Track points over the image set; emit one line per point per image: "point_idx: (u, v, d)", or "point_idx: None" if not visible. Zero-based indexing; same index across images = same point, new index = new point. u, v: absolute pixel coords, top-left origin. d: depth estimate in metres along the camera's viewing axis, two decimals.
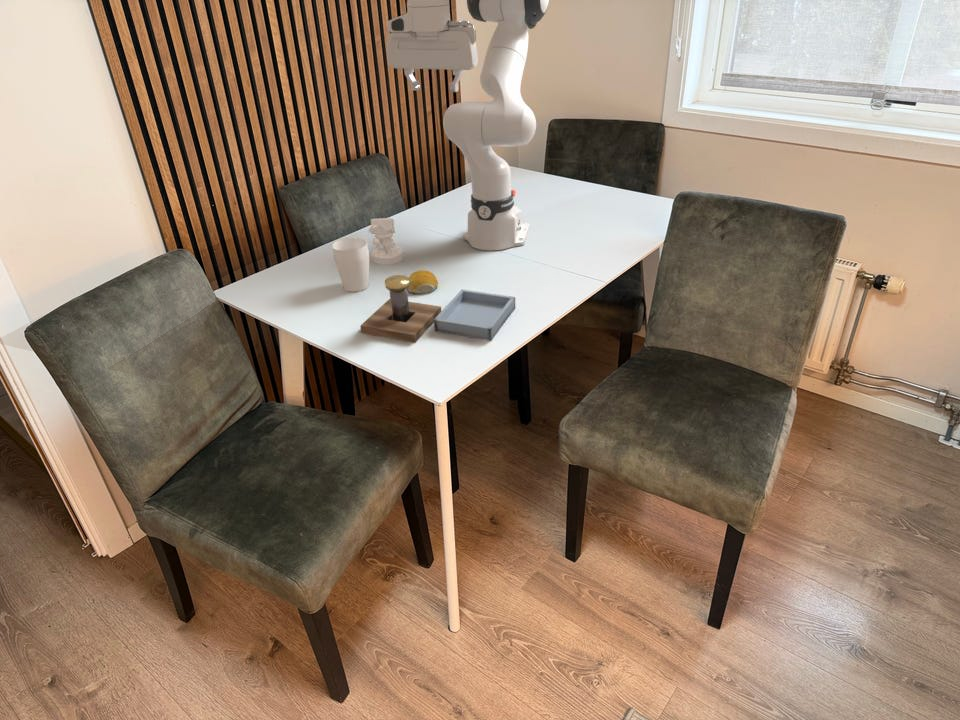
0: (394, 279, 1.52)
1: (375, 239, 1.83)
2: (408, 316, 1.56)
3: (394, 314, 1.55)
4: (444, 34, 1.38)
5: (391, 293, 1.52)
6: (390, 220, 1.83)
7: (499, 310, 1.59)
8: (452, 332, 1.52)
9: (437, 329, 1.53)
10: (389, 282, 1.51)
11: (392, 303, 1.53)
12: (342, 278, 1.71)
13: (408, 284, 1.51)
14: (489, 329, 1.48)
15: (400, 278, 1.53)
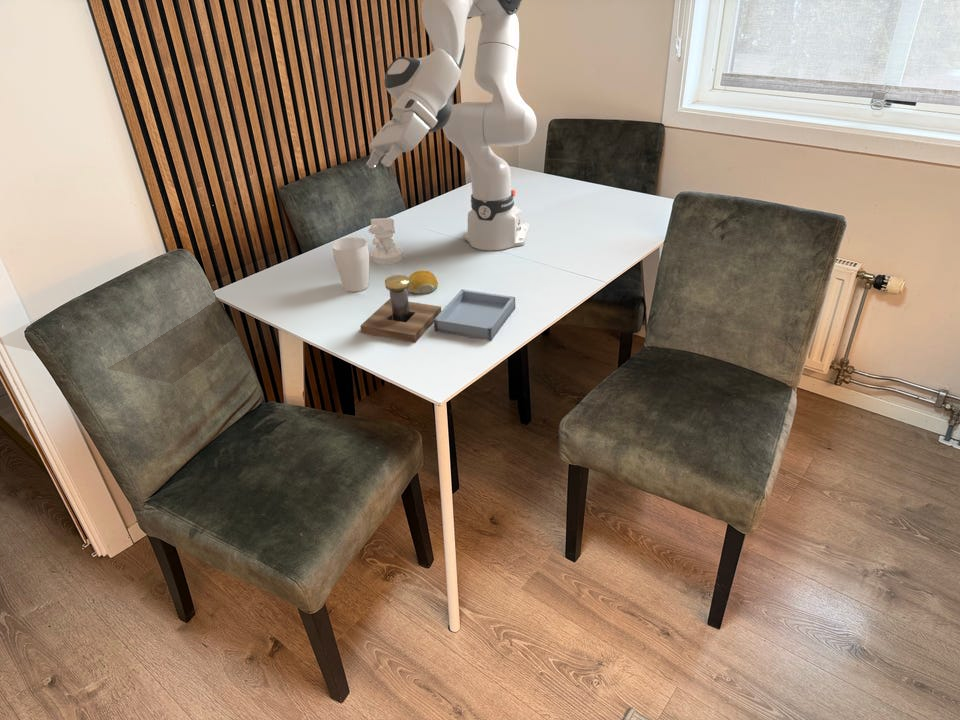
0: (394, 279, 1.52)
1: (375, 239, 1.83)
2: (408, 316, 1.56)
3: (394, 314, 1.55)
4: None
5: (391, 293, 1.52)
6: (390, 220, 1.83)
7: (499, 310, 1.59)
8: (452, 332, 1.52)
9: (437, 329, 1.53)
10: (389, 282, 1.51)
11: (392, 303, 1.53)
12: (342, 278, 1.71)
13: (408, 284, 1.51)
14: (489, 329, 1.48)
15: (400, 278, 1.53)
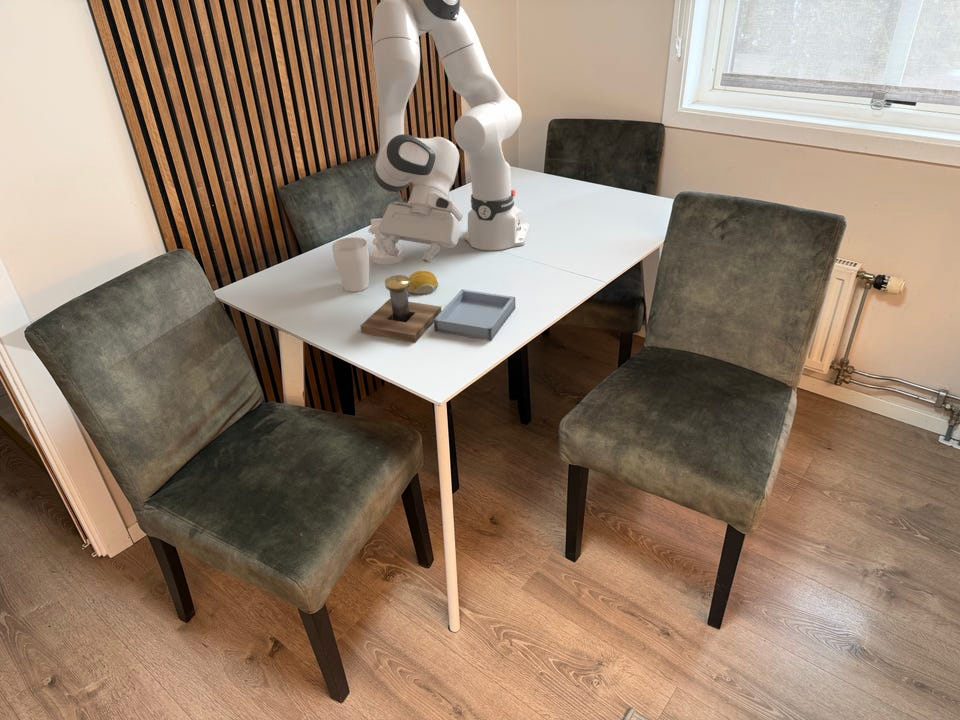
0: (394, 279, 1.52)
1: (375, 239, 1.83)
2: (408, 316, 1.56)
3: (394, 314, 1.55)
4: None
5: (391, 293, 1.52)
6: None
7: (499, 310, 1.59)
8: (452, 332, 1.52)
9: (437, 329, 1.53)
10: (389, 282, 1.51)
11: (392, 303, 1.53)
12: (342, 278, 1.71)
13: (408, 284, 1.51)
14: (489, 329, 1.48)
15: (400, 278, 1.53)
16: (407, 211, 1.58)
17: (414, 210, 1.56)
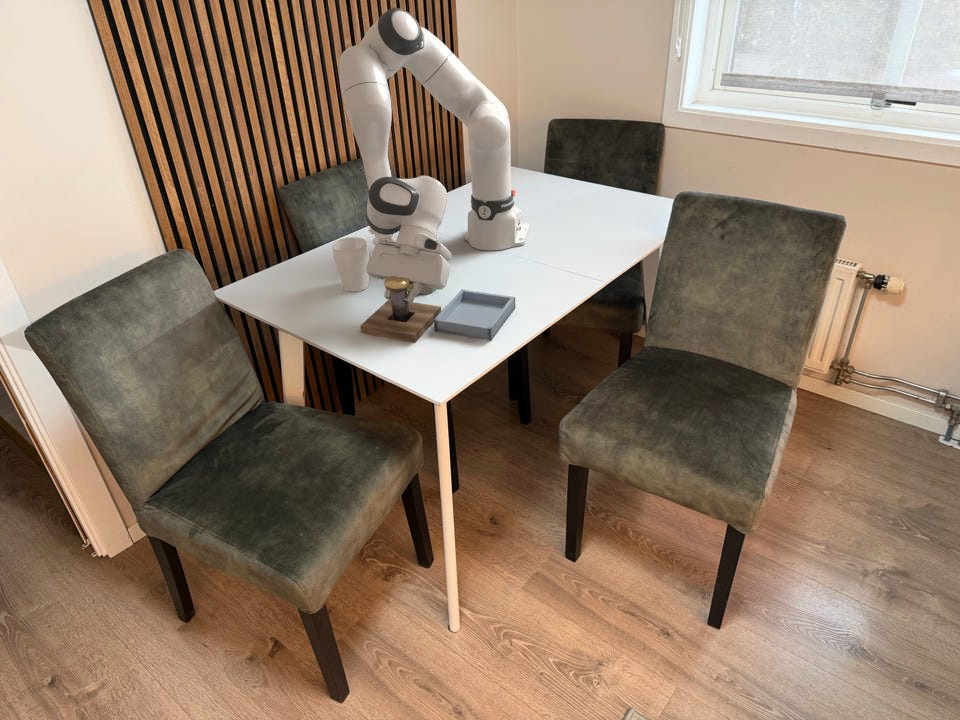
0: (394, 279, 1.52)
1: (375, 239, 1.83)
2: (408, 316, 1.56)
3: (394, 314, 1.55)
4: None
5: (391, 293, 1.52)
6: None
7: (499, 310, 1.59)
8: (452, 332, 1.52)
9: (437, 329, 1.53)
10: (388, 282, 1.51)
11: (392, 303, 1.53)
12: (342, 278, 1.71)
13: (408, 284, 1.51)
14: (489, 329, 1.48)
15: (400, 278, 1.53)
16: (395, 252, 1.55)
17: (402, 251, 1.53)
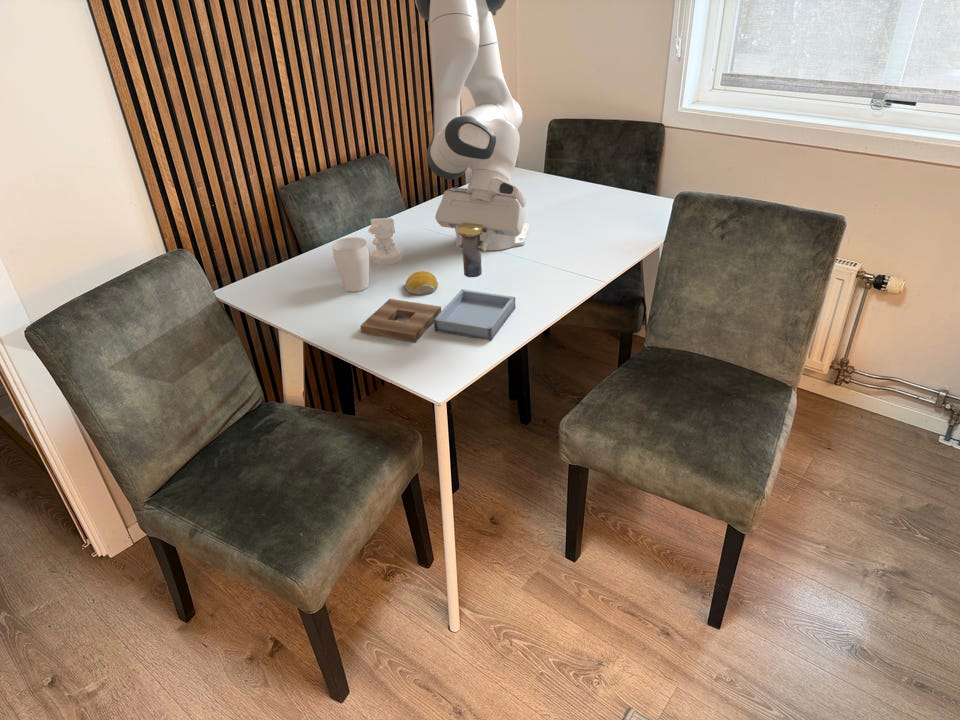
0: (467, 225, 1.46)
1: (375, 239, 1.83)
2: (480, 265, 1.49)
3: (466, 263, 1.48)
4: None
5: (464, 240, 1.45)
6: (390, 220, 1.83)
7: (499, 310, 1.59)
8: (452, 332, 1.52)
9: (437, 329, 1.53)
10: (462, 228, 1.44)
11: (464, 251, 1.47)
12: (342, 278, 1.71)
13: (482, 230, 1.45)
14: (489, 329, 1.48)
15: (473, 224, 1.46)
16: (466, 198, 1.49)
17: (475, 197, 1.46)
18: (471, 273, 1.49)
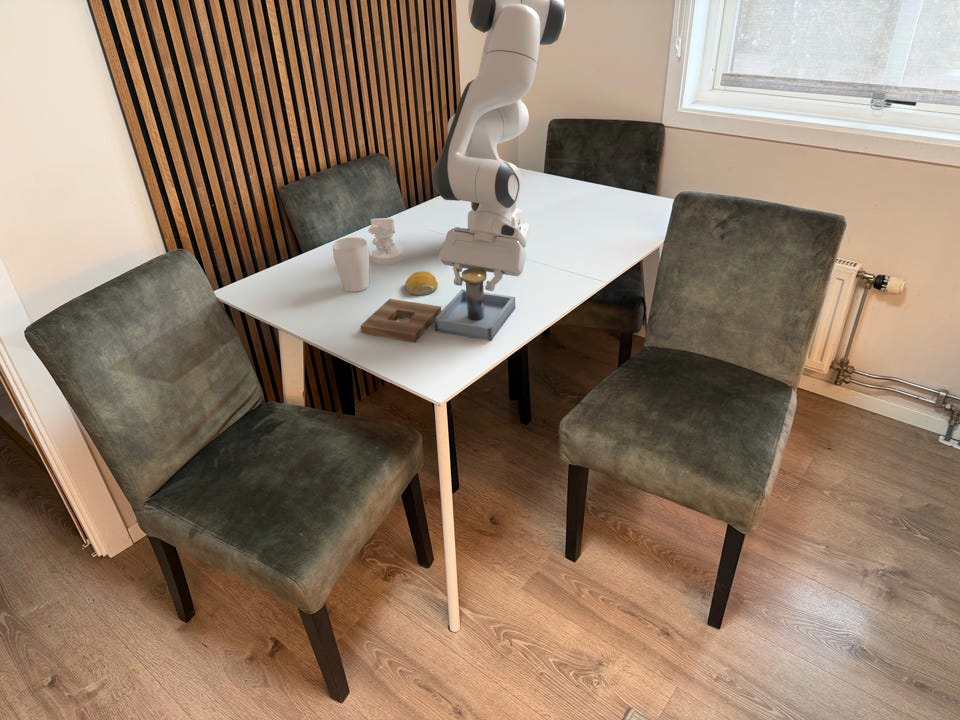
0: (471, 272, 1.51)
1: (375, 239, 1.83)
2: (483, 309, 1.55)
3: (469, 307, 1.54)
4: None
5: (468, 286, 1.51)
6: (390, 220, 1.83)
7: (499, 310, 1.59)
8: (452, 332, 1.52)
9: (437, 329, 1.53)
10: (466, 275, 1.50)
11: (468, 296, 1.53)
12: (342, 278, 1.71)
13: (485, 277, 1.51)
14: (489, 329, 1.48)
15: (477, 270, 1.52)
16: (469, 238, 1.54)
17: (477, 238, 1.52)
18: (474, 317, 1.55)
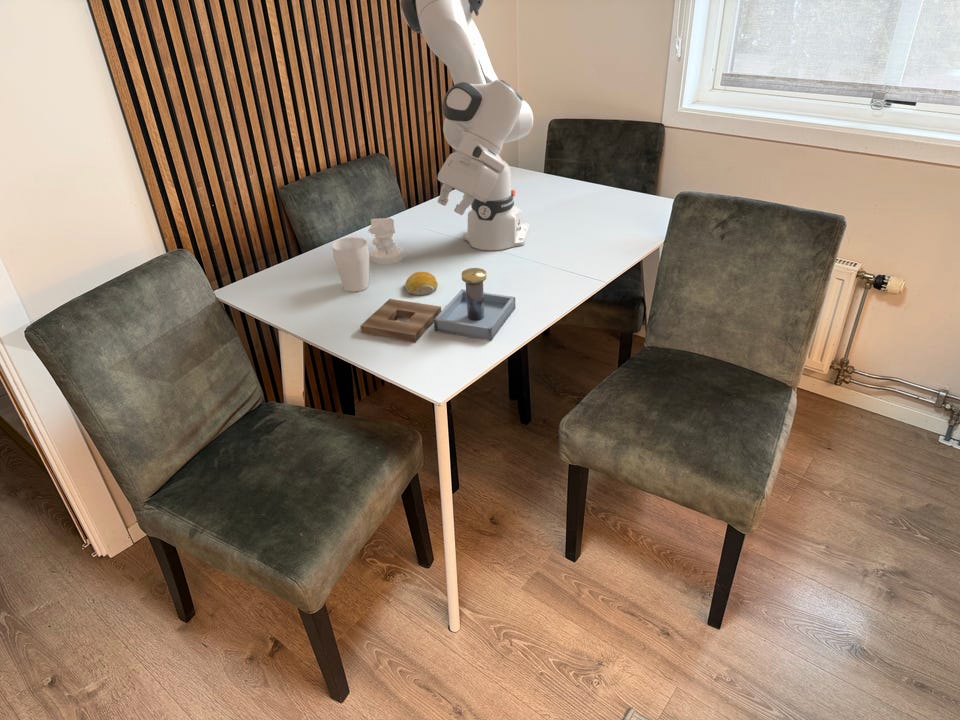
0: (471, 272, 1.52)
1: (375, 239, 1.83)
2: (483, 309, 1.55)
3: (469, 307, 1.54)
4: None
5: (468, 286, 1.51)
6: (390, 220, 1.83)
7: (499, 310, 1.59)
8: (452, 332, 1.52)
9: (437, 329, 1.53)
10: (466, 275, 1.50)
11: (468, 296, 1.53)
12: (342, 278, 1.71)
13: (485, 277, 1.51)
14: (489, 329, 1.48)
15: (477, 270, 1.52)
16: (458, 159, 1.53)
17: (459, 158, 1.50)
18: (474, 317, 1.55)
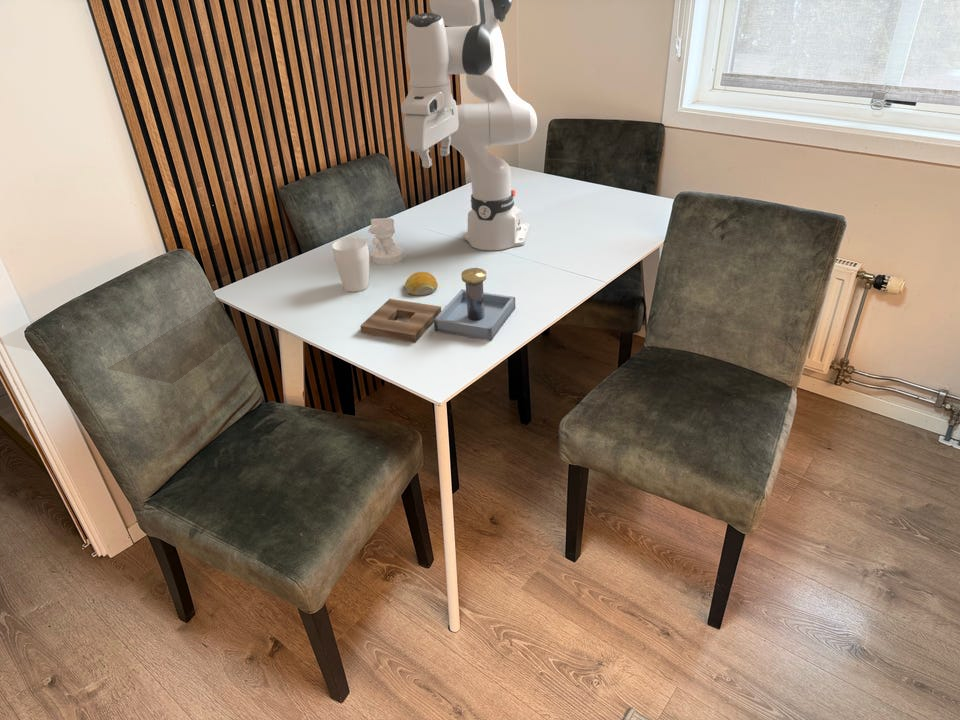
0: (471, 272, 1.51)
1: (375, 239, 1.83)
2: (483, 309, 1.55)
3: (469, 307, 1.54)
4: None
5: (468, 286, 1.51)
6: (390, 220, 1.83)
7: (499, 310, 1.59)
8: (452, 332, 1.52)
9: (437, 329, 1.53)
10: (466, 275, 1.50)
11: (468, 296, 1.53)
12: (342, 278, 1.71)
13: (485, 277, 1.51)
14: (489, 329, 1.48)
15: (477, 270, 1.52)
16: None
17: None
18: (474, 317, 1.55)
